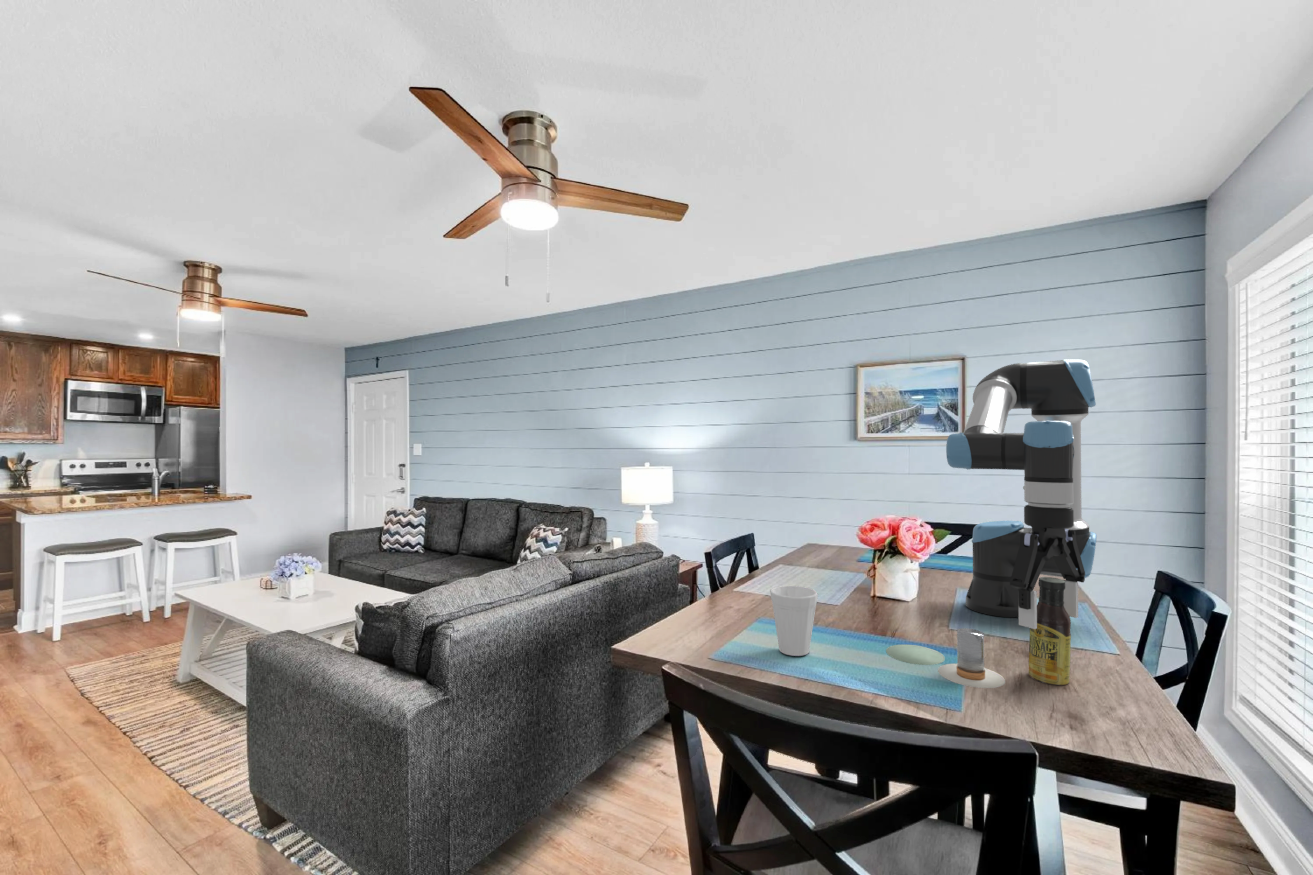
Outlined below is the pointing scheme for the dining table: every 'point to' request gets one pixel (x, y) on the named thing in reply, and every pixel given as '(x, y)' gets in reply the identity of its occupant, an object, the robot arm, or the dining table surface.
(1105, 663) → the dining table surface
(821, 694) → the dining table surface
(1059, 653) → the sauce bottle
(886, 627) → the dining table surface
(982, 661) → the glass jar
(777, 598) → the cup
